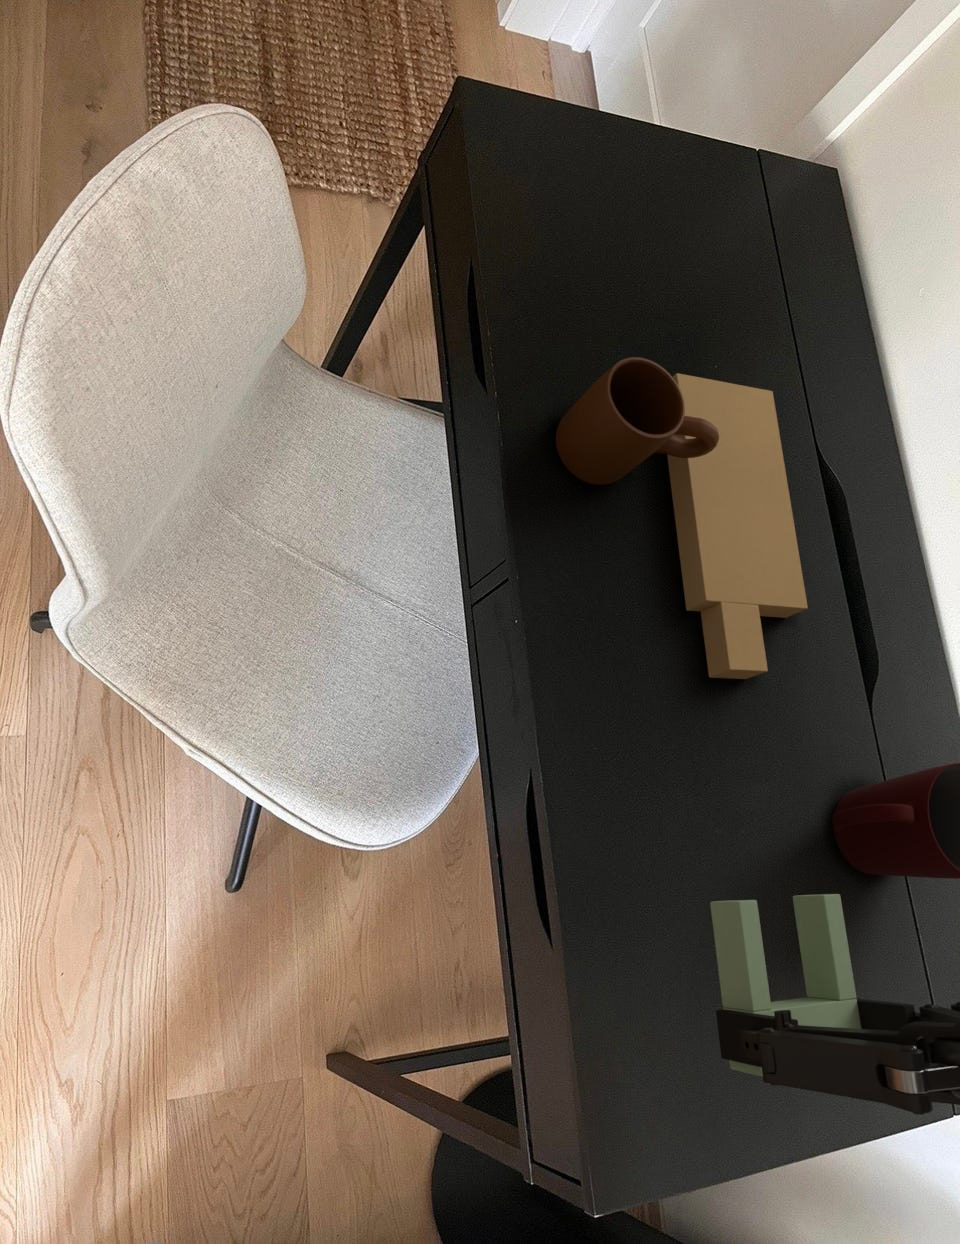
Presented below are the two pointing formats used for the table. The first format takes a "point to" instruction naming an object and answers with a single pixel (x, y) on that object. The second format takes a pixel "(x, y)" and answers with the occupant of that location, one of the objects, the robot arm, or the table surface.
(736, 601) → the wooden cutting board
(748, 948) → the green block
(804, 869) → the table surface
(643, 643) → the table surface
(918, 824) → the mug
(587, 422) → the mug
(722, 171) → the table surface
